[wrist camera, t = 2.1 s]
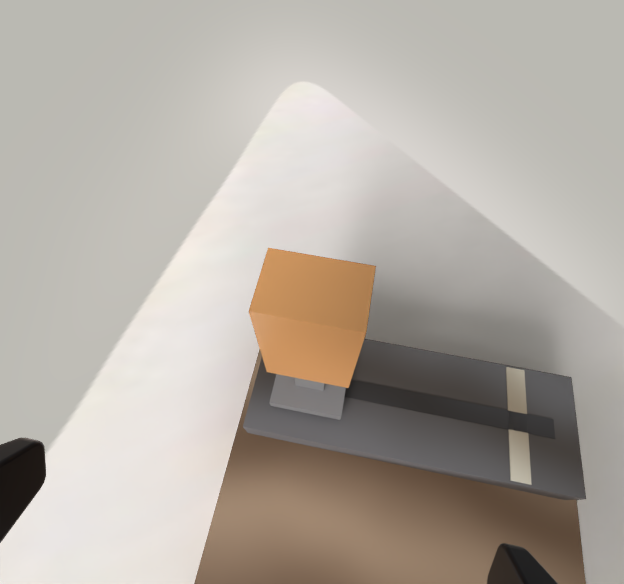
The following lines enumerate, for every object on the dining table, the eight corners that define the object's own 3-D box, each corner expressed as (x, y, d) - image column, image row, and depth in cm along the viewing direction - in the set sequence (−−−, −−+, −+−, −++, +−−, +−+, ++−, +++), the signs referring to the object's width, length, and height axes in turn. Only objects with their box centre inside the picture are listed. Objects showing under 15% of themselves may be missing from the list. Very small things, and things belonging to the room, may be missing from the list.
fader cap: (340, 419, 17) (363, 351, 10) (270, 405, 17) (243, 329, 10) (350, 353, 18) (377, 251, 11) (286, 341, 18) (272, 233, 11)
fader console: (574, 692, 15) (631, 731, 12) (197, 597, 16) (176, 614, 14) (546, 386, 21) (582, 368, 18) (269, 334, 22) (263, 310, 20)
